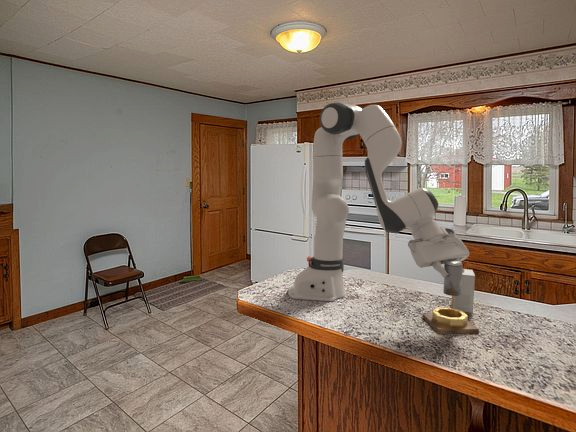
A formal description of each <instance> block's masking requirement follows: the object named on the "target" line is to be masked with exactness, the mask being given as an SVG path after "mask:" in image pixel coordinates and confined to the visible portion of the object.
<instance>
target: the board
mask: <svg viewBox="0 0 576 432" xmlns="http://www.w3.org/2000/svg"><path fill="white" fill-rule="evenodd" d="M422 318H423V319H424V321H426V323H427V324H429V325H430V327H432V328H433V329H434V330H435V331H436V332H437V333H438V334H480V328H479V327H477V326H476V325H474V324H473V323H472V322H471V321H470V320H468V319H467V324H466V325H465V326H464V327H448V326H444V325H441V324H437V323H436V322H435V321H434V320H433V319H432V313H422ZM450 318H452V317H450Z"/></svg>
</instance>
